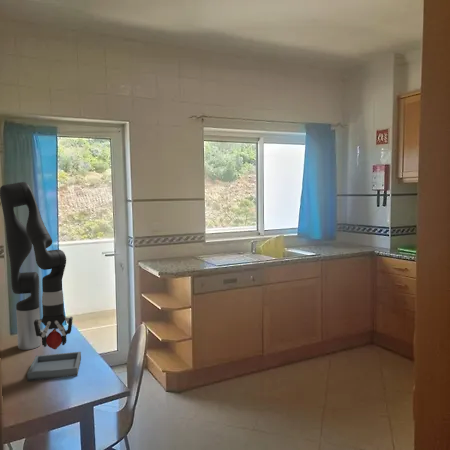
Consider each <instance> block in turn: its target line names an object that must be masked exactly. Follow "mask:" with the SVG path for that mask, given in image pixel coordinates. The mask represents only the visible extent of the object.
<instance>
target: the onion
mask: <svg viewBox="0 0 450 450" xmlns="http://www.w3.org/2000/svg"><path fill="white" fill-rule="evenodd" d="M46 336H47V338H46V343H47V347H49V348H50V349H53V350H57V349H58V348H59V347H60V346H61V345H62V333H61V332H60V331H57V329H52V330H51V332H49V333H48V334H47V335H46Z"/></svg>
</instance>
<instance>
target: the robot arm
mask: <svg viewBox="0 0 450 450" xmlns="http://www.w3.org/2000/svg"><path fill="white" fill-rule="evenodd" d="M31 188H32V187H31V185H29V184H28V183H27V182H26V181H20V182H13V183H8V184H3V185H1V186H0V204H1V208H2V213H3V218H4V224H5V232H6V233H5V236H6V243H7V244H6V245H7V251H8V256H9V263H10V282H11V284H10V285H11V289H12V292H13V294H15V295H21V294H22V295H23V294H30V295H29V296H28V297H27V298H25V299H22V300H19V301H18V302H17V303H16V305H15V306H16V307H15V308H16V310H15V311H16V328H17V329H16V331H17V348H18V349H19V350H22V351H23V350H24V351H26V350H33V349H36V348H39V347H41V345H42V346H43V347H44V348H46V347H48V345H47V343H46V338H47V336H48V335H47V333H48V331H49V330H53V329H56V330H57V329H58V330H59V331H58V332H59V333H60V334H61V336H62V343H61V345H62V346H65V344H66V343H67V341H68V340H67V335H69V334H71V332H72V328H73V320H74V317H73V316H70V317H67V316H65V308H64V307H65V305H64V304H65V303H64V291H63V277H64V274H65V271H66V265H67V256H66V254H65V252H64V251H63V250H62V249H51V250H47V249H48V248H49V247H50V246H52V244H53V238H52V237H51V235H50V233H49V231H48V229H47V227H46V225H45V223H44V220H43V217H42V215H41V213H40V210H39V207H38V203H37V201H36V198H35V194H34V192H33V191H32V189H31ZM21 206H27V208H28V217H27V221H26V225H25V224H24V223H22V221H20V219H19V218H18V217H17V216H16V214H15V209H14V208H16V207H17V208H18V207H21ZM32 248H33V251H34V256H35V263H36V265H37V267H38V268H40V269H41V270H43V271H47V270H50V272H49V273H47V274H46V275H45V276H43V277H42V280H41V282H42V283H41V284H42V285H41V286H42V295H41V304H42V306H41V308H42V318H40V317H41V316H40V315H41V314H40V290H39V289H40V277H39V274H38V273H37V272H36V271H29V272H28V271H27V272H20V269H21V267H22V265H23V263H24V262H25V260H26V259H27V258H28V256H29V254H30V253H31V251H32ZM65 322H66V324H67V329H65V326H64V325H63V324H64V323H65ZM41 324H43V325H44V326H45V328H44V329H43V332H42V331H41Z"/></svg>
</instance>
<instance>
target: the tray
mask: <svg viewBox="0 0 450 450" xmlns="http://www.w3.org/2000/svg"><path fill="white" fill-rule="evenodd" d="M81 360H82V352H81V351H75V352H64V353H63V352H62V353H51V354H44V355H43V354H41V355H36V356H35V357H34V359H33V361H32V362H31V366H30V367H29V369H28V371H27V374H26V375H27V382H34V381H40V380H41V381H42V379H44V380H52V379H59V378H69V377H78V376H79V375H78V374H79V370H80V366H81Z"/></svg>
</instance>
